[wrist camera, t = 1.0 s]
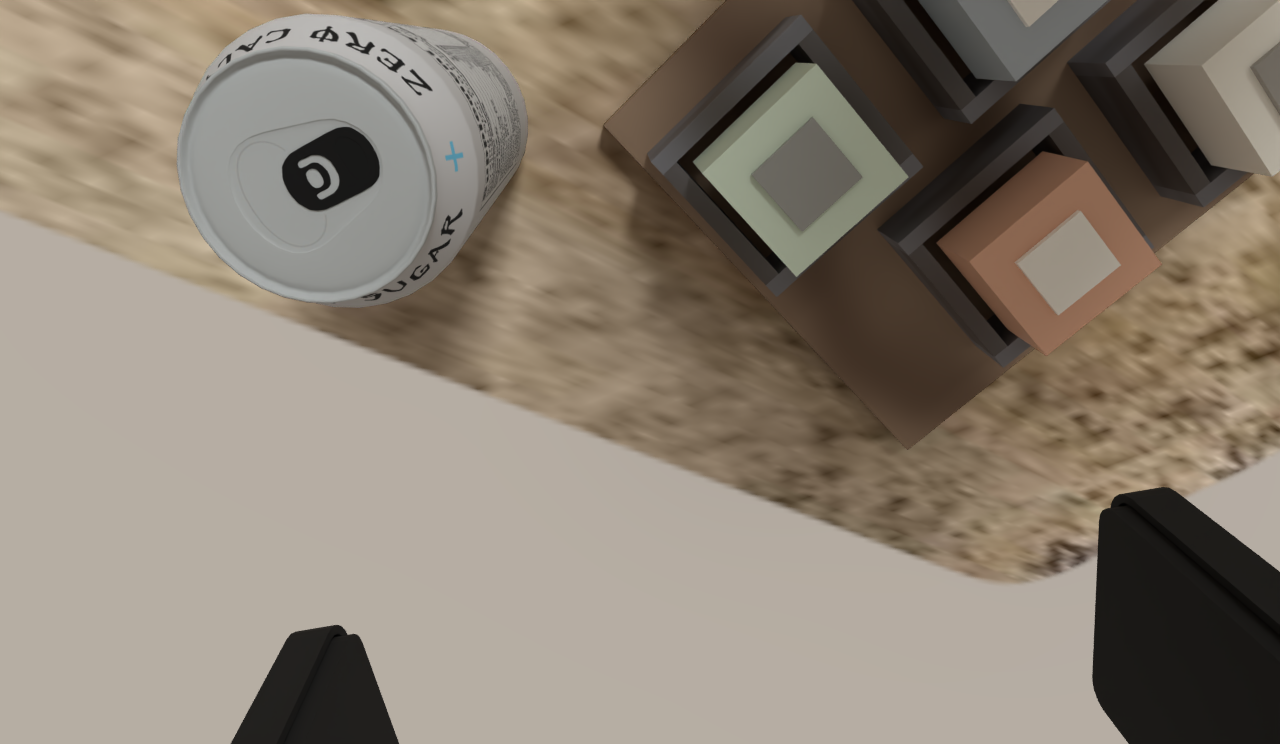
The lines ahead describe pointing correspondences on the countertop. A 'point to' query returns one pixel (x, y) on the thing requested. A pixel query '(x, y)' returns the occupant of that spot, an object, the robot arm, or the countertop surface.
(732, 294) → the countertop surface
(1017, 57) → the slate key
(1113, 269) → the terracotta key
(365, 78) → the energy drink can
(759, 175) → the sage key
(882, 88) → the keypad
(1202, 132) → the ivory key
